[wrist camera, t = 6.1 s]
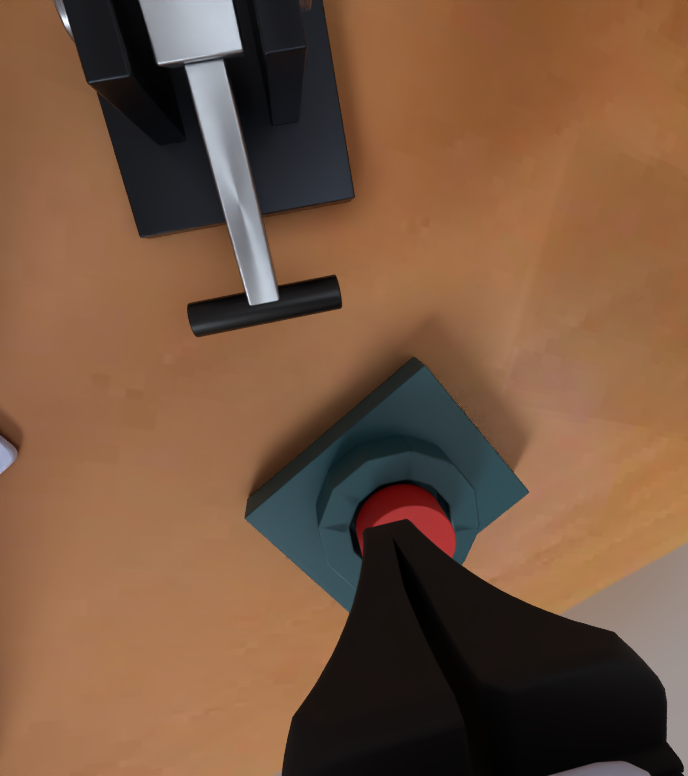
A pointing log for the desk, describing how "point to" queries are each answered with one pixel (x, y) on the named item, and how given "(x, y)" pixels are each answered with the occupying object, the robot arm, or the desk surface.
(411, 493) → the power button
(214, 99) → the switch lever
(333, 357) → the desk surface
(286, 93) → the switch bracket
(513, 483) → the button box
